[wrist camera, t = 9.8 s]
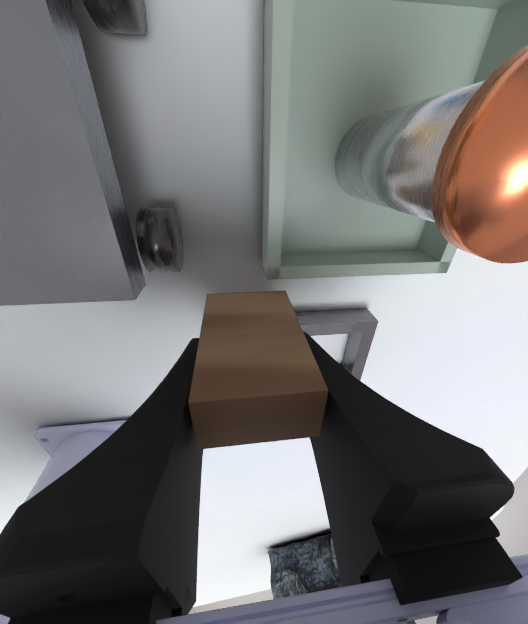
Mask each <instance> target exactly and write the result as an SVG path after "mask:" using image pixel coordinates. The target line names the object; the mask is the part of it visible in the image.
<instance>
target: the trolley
mask: <svg viewBox="0 0 528 624" xmlns="http://www.w3.org/2000/svg"><path fill="white" fill-rule="evenodd" d="M82 1H83V3H84V5H85V7H86V9H87V11H88V13H89V15H90V16H91V18H92V20H93V21H94V23H95V24H96V26H97V27H98V28H99V29H100V30H101V31H102V32H107V33H123V34H139V35H144V34H145V31H146V15H145V5H144V0H82ZM136 234H137V242H138V247H139V251H140V255H141V258H142V260H143V263H144V265H145V266H146V268H147V269H148V270H149V271H150V272H174V271H180V270H181V268H182V264H183V241H182V234H181V228H180V223H179V219H178V216H177V214H176V211H175V210H174V208H173V207H142V208H140V210H139V211H138V214H137V220H136ZM145 285H146V284H145V280H144V276H143V273H142V269H141V265H140V261H139V257H138V254H137V250H136V246H135V242H134V238H133V235H132V231H131V227H130V223H129V220H128V216H127V212H126V208H125V204H124V201H123V197H122V193H121V189H120V185H119V182H118V178H117V174H116V170H115V166H114V163H113V159H112V155H111V151H110V147H109V144H108V140H107V136H106V132H105V129H104V125H103V121H102V117H101V113H100V110H99V106H98V102H97V98H96V94H95V91H94V87H93V83H92V79H91V75H90V72H89V68H88V64H87V60H86V57H85V53H84V49H83V45H82V41H81V38H80V34H79V30H78V26H77V22H76V19H75V15H74V11H73V7H72V3H71V0H0V306H3V305H27V304H50V303H74V302H97V301H121V300H135V299H136V298H137V296H138V295H139V293H140V292H141V291H142V289H143V288H144V286H145Z"/></svg>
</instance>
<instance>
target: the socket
mask: <svg viewBox="0 0 528 624" xmlns="http://www.w3.org/2000/svg"><path fill="white" fill-rule="evenodd" d="M295 314H296V316H297V319H298V321H299V323H300V326H301V328H302V330H303V332H306V333H307V334H308V335H309V336H314V335H330V334H347V333H349V337H348V341H347V345H346V350H345V354H344V358H343V362H342V365H341V366H342V367H343V368H344V369H346V370H347V371H348V372H349V373H351V374H352V375H353V376H354V377H355V378H357V379H358V380H359V381H360V379H361V376H362V372H363V369H364V366H365V363H366V359H367V356H368V353H369V350H370V346H371V343H372V340H373V337H374V333H375V330H376V327H377V324H378V320H377V319H376V318H375V317H374V316H373V315H372V314H371V313H370V311H369V310H368V309H348V310H328V311H308V312H295Z"/></svg>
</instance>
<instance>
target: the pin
mask: <svg viewBox="0 0 528 624" xmlns="http://www.w3.org/2000/svg"><path fill="white" fill-rule="evenodd" d="M335 174H336V178H337V181H338V183H339V185H340V187H341V188H342V190H343V191H344V192H345V193H347V194H348V195H350V196H352V197H354V198H358V199H361V200H364V201H367V202H371V203H374V204H377V205H380V206H383V207H387V208H390V209H393V210H396V211H400V212H403V213H406V214H409V215H412V216H416V217H419V218H422V219H425V220H429V221H432V222H435V223H436V225H437V228H438V230H439V232H440V233H441V234H442V236H443V237H444V238H445V239H446V240H447V241H448V242H449V243H450V244H452V245H453V246H455V247H457V248H459V249H462V250H464V251H467V252H469V253H472V254H474V255H477V256H479V257H482V258H485V259H487V260H490V261H493V262H498V263H518V262H525V261H528V44H527V45H526V46H525V47H523V48H522V49H520V50H519V51H518V52H516V53H515V54H513V55H512V56H511V57H510V58H509V59H507V60H506V61H505V62H504V63H503V64H502V65H501V66H499V67H498V68H497V69H496V70H495V71H494V72H493V73H492V74H491V75H490V76H489V78H488V79H487V80H485V81H482V82H479V83H476V84H472V85H469V86H466V87H463V88H459V89H456V90H453V91H450V92H446V93H443V94H440V95H437V96H433V97H430V98H427V99H424V100H420V101H417V102H414V103H411V104H407V105H404V106H401V107H398V108H394V109H391V110H388V111H385V112H381V113H378V114H375V115H372V116H368V117H366V118H363V119H362V120H360V121H358V122H357V123H356V124H354V125H353V126H352V127H351V128H350V129H349V130H348V132H347V133H346V134H345V136H344V137H343V139H342V141H341V143H340V145H339V147H338V150H337V154H336V159H335Z"/></svg>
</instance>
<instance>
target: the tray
mask: <svg viewBox="0 0 528 624" xmlns="http://www.w3.org/2000/svg"><path fill="white" fill-rule="evenodd" d="M527 44H528V0H264V36H263V166H262V263H263V266H264V270H265V273H266V276H267V279H288V278H315V277H343V276H371V275H398V274H426V273H447V270H448V268H449V266H450V263H451V261H452V259H453V256H454V254H455V252H456V249H457V247H455V246H453V245H452V244H450V243H449V242H448V241H447V240H446V239H445V238H444V237H443V236H442V234H441V233H440V232H439V230H438V228H437V225H436V223H435V222H432V221H429V220H425V219H422V218H419V217H416V216H412V215H409V214H406V213H403V212H400V211H396V210H393V209H390V208H387V207H383V206H380V205H377V204H374V203H371V202H367V201H364V200H361V199H358V198H354V197H352V196H350V195H348V194H347V193H345V192H344V191H343V190H342V188H341V187H340V185H339V183H338V181H337V178H336V174H335V159H336V154H337V150H338V147H339V145H340V143H341V141H342V139H343V137H344V136H345V134H346V133H347V132H348V130H349V129H350V128H351V127H352V126H353V125H354V124H356V123H357V122H358V121H360V120H362V119H363V118H366V117H368V116H372V115H375V114H378V113H381V112H385V111H388V110H391V109H394V108H398V107H401V106H404V105H407V104H411V103H414V102H417V101H420V100H424V99H427V98H430V97H433V96H437V95H440V94H443V93H446V92H450V91H453V90H456V89H459V88H463V87H466V86H469V85H472V84H476V83H479V82H482V81H485V80H487V79H488V78H489V76H490V75H491V74H492V73H493V72H494V71H495V70H496V69H497V68H498V67H499V66H501V65H502V64H503V63H504V62H505V61H506V60H507V59H509V58H510V57H511V56H512V55H513V54H515V53H516V52H518V51H519V50H520V49H522V48H523V47H525V46H526V45H527Z"/></svg>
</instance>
